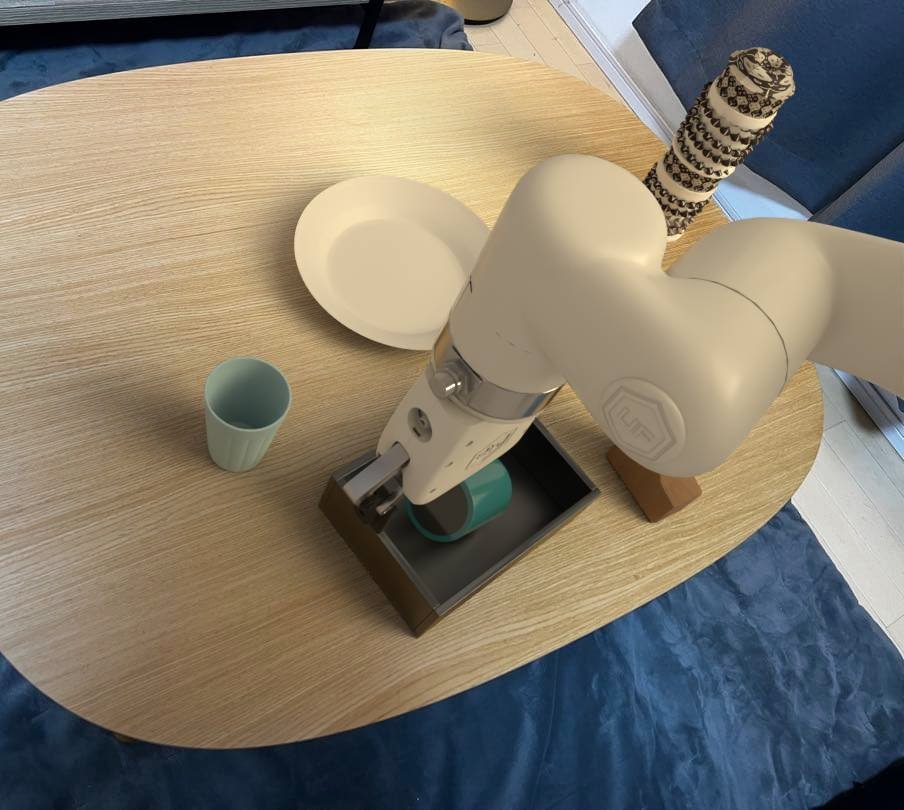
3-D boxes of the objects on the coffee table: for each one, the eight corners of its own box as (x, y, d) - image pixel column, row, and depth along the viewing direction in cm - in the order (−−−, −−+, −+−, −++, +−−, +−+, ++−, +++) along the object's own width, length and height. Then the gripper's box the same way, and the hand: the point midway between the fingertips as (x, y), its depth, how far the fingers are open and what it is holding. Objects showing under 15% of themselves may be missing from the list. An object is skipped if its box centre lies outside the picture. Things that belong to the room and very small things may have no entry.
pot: (478, 435, 81) (438, 449, 75) (526, 491, 79) (489, 511, 73) (433, 479, 85) (391, 496, 78) (478, 534, 83) (438, 557, 76)
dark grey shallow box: (572, 520, 87) (603, 493, 81) (417, 639, 77) (439, 617, 71) (476, 406, 92) (498, 373, 86) (317, 504, 82) (330, 474, 76)
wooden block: (681, 510, 91) (789, 430, 76) (651, 525, 89) (755, 446, 74) (633, 441, 94) (727, 351, 79) (603, 454, 92) (693, 365, 77)
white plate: (308, 373, 89) (314, 354, 86) (274, 195, 101) (278, 173, 98) (523, 363, 96) (535, 345, 93) (468, 198, 108) (477, 177, 105)
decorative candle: (654, 253, 110) (775, 100, 90) (609, 203, 113) (716, 44, 92) (699, 233, 114) (825, 82, 94) (654, 185, 117) (766, 28, 97)
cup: (277, 416, 85) (292, 360, 77) (275, 485, 82) (291, 435, 73) (200, 409, 84) (207, 351, 75) (194, 479, 80) (201, 427, 71)
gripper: (430, 478, 42) (356, 588, 57) (644, 341, 50) (531, 467, 65) (342, 368, 45) (292, 500, 59) (560, 253, 53) (470, 394, 67)
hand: (417, 483), depth 62 cm, fingers open, 9 cm apart
